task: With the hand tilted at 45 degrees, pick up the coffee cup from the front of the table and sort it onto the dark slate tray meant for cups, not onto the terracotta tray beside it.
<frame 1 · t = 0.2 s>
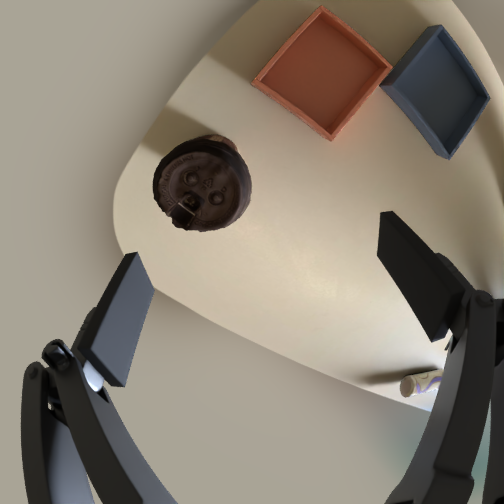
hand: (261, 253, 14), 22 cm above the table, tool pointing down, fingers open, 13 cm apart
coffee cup: (212, 158, 32), on the table
terracotta tray: (320, 72, 26), on the table
decorative bottle: (425, 374, 68), on the table
slate tray: (436, 89, 26), on the table
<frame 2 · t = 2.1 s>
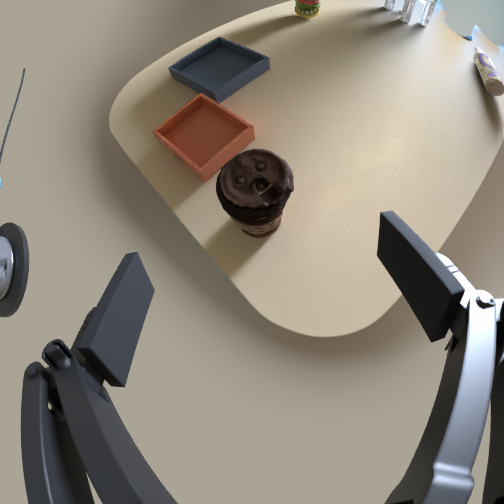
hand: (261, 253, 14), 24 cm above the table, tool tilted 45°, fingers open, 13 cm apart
hamburger: (306, 15, 50), on the table
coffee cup: (260, 218, 39), on the table
terracotta tray: (204, 138, 43), on the table
decorative bottle: (484, 75, 44), on the table
slate tray: (219, 71, 46), on the table
stool: (405, 16, 50), on the table
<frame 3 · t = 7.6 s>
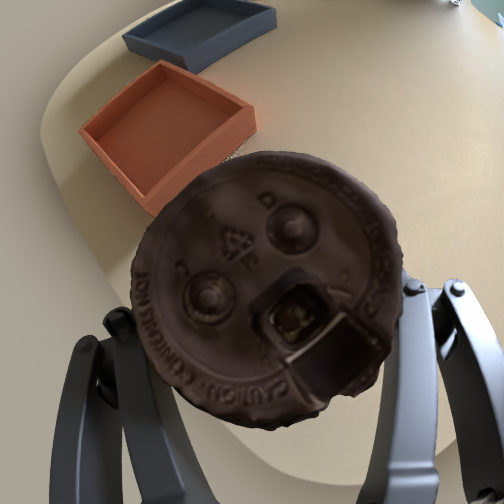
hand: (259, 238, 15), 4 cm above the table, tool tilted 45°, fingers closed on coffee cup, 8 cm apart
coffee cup: (270, 301, 19), on the table, touching gripper
terracotta tray: (164, 136, 23), on the table
slate tray: (198, 34, 26), on the table
when the fingers open (5 cm above the table, at t = 17.7 s): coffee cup stays where it is, resting on slate tray.
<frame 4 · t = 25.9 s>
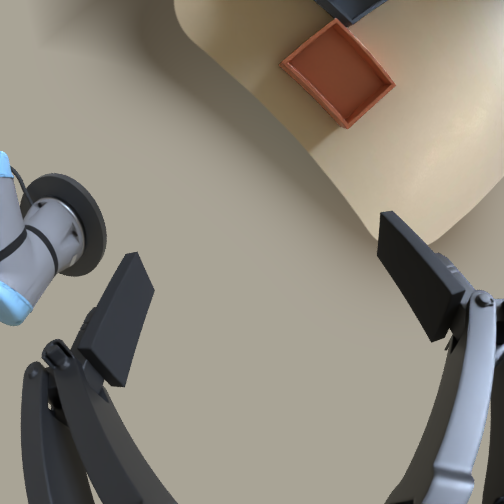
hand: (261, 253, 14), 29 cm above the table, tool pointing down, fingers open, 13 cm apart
terracotta tray: (336, 73, 32), on the table
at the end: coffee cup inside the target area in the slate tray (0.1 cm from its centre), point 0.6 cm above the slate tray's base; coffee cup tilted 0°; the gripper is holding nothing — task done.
